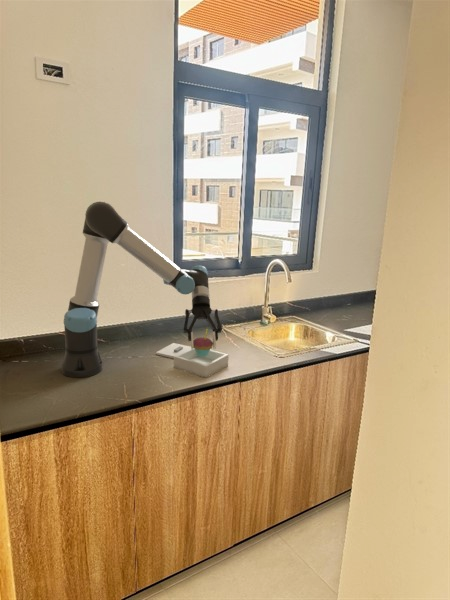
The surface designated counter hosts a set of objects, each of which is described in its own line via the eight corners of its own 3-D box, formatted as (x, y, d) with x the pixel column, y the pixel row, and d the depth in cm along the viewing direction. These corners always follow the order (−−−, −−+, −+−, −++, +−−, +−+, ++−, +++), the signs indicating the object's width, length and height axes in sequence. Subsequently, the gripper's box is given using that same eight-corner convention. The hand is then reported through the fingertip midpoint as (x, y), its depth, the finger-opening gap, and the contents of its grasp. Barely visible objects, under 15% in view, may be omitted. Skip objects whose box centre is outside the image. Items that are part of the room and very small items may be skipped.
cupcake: (215, 352, 171) (216, 325, 168) (208, 359, 163) (209, 331, 160) (195, 349, 174) (196, 322, 171) (188, 356, 166) (188, 328, 163)
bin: (205, 378, 159) (206, 366, 158) (173, 367, 167) (173, 356, 166) (228, 365, 172) (228, 354, 171) (197, 356, 180) (197, 345, 179)
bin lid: (183, 360, 174) (184, 356, 174) (156, 354, 180) (156, 350, 179) (199, 350, 187) (199, 346, 186) (173, 344, 192) (173, 340, 192)
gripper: (223, 303, 181) (228, 351, 169) (175, 303, 177) (176, 352, 166) (226, 294, 174) (231, 343, 163) (176, 294, 171) (177, 344, 159)
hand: (203, 347), depth 164 cm, fingers closed on cupcake, 8 cm apart
